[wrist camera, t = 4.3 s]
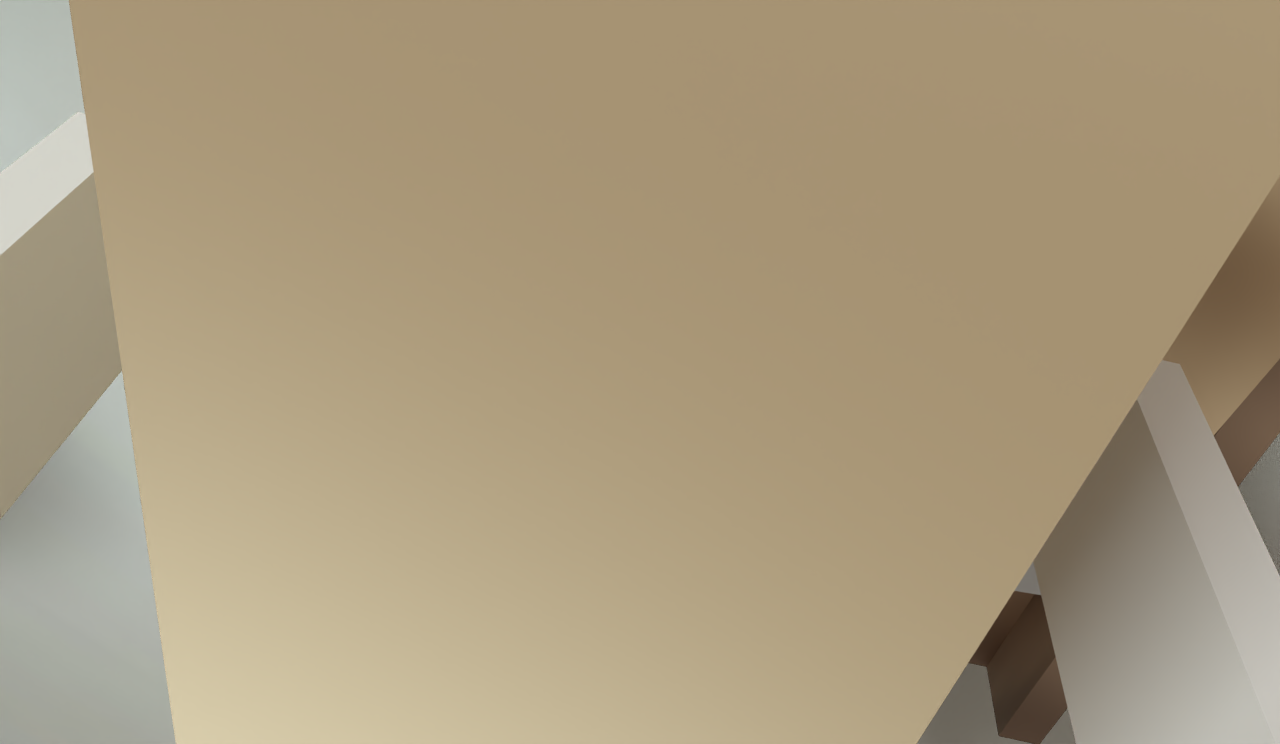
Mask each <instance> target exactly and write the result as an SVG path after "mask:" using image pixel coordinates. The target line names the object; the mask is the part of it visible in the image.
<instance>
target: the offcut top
mask: <svg viewBox="0 0 1280 744" xmlns="http://www.w3.org/2000/svg"><path fill="white" fill-rule="evenodd" d="M1279 359H1280V177H1279V178H1278V180H1277V181H1276V183H1275V184H1274V186H1273V187H1272V189H1271V191H1270V192H1269V194H1268V195H1267V197H1266V198H1265V200H1264V202H1263V203H1262V205H1261V206H1260V208H1259V209H1258V211H1257V212H1256V214H1255V216H1254V217H1253V219H1252V220H1251V222H1250V223H1249V225H1248V227H1247V228H1246V230H1245V231H1244V233H1243V234H1242V236H1241V237H1240V239H1239V241H1238V242H1237V244H1236V245H1235V247H1234V248H1233V250H1232V251H1231V253H1230V255H1229V256H1228V258H1227V259H1226V261H1225V262H1224V264H1223V266H1222V267H1221V269H1220V270H1219V272H1218V273H1217V275H1216V277H1215V278H1214V280H1213V281H1212V283H1211V284H1210V286H1209V287H1208V289H1207V291H1206V292H1205V294H1204V295H1203V297H1202V298H1201V300H1200V302H1199V303H1198V305H1197V306H1196V308H1195V309H1194V311H1193V312H1192V314H1191V316H1190V317H1189V319H1188V320H1187V322H1186V323H1185V325H1184V327H1183V328H1182V330H1181V331H1180V333H1179V334H1178V336H1177V337H1176V339H1175V341H1174V342H1173V344H1172V345H1171V347H1170V348H1169V350H1168V351H1167V353H1166V355H1165V356H1164V358H1163V359H1162V360H1164V361H1169V362H1173V363H1177V364H1180V365H1181V367H1182V370H1183V372H1184V374H1185V376H1186V378H1187V380H1188V382H1189V384H1190V387H1191V389H1192V391H1193V393H1194V395H1195V397H1196V399H1197V401H1198V404H1199V406H1200V408H1201V410H1202V412H1203V414H1204V416H1205V418H1206V421H1207V423H1208V425H1209V427H1210V429H1211V431H1212V433H1213V435H1215V434H1216V432H1217V431H1218V430H1219V429H1220V428H1221V427H1222V425H1223V424H1224V423H1225V422H1226V421H1227V420H1228V418H1229V417H1230V416H1231V415H1232V414H1233V413H1234V411H1235V410H1236V409H1237V408H1238V407H1239V406H1240V404H1241V403H1242V402H1243V401H1244V400H1245V399H1246V397H1247V396H1248V395H1249V394H1250V393H1251V392H1252V390H1253V389H1254V388H1255V387H1256V386H1257V385H1258V383H1259V382H1260V381H1261V380H1262V379H1263V378H1264V376H1265V375H1266V374H1267V373H1268V372H1269V371H1270V369H1271V368H1272V367H1273V366H1274V365H1275V364H1276V362H1277V361H1278V360H1279Z"/></svg>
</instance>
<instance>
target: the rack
mask: <svg viewBox="0 0 1280 744" xmlns="http://www.w3.org/2000/svg"><path fill="white" fill-rule="evenodd" d="M1279 433H1280V359H1279V360H1278V361H1277V362H1276V364H1275V365H1274V366H1273V367H1272V368H1271V369H1270V371H1269V372H1268V373H1267V374H1266V375H1265V376H1264V378H1263V379H1262V380H1261V381H1260V382H1259V383H1258V385H1257V386H1256V387H1255V388H1254V389H1253V390H1252V392H1251V393H1250V394H1249V395H1248V396H1247V397H1246V399H1245V400H1244V401H1243V402H1242V403H1241V404H1240V406H1239V407H1238V408H1237V409H1236V410H1235V411H1234V413H1233V414H1232V415H1231V416H1230V417H1229V418H1228V420H1227V421H1226V422H1225V423H1224V424H1223V425H1222V427H1221V428H1220V429H1219V430H1218V431H1217V432H1216V434H1215V435H1214V438H1215V440H1216V442H1217V444H1218V446H1219V448H1220V450H1221V452H1222V455H1223V457H1224V459H1225V461H1226V463H1227V465H1228V467H1229V469H1230V472H1231V474H1232V476H1233V478H1234V480H1235V482H1236V484H1237V486H1239V485H1240V483H1241V482H1242V481H1243V480H1244V478H1245V477H1246V476H1247V474H1248V473H1249V472H1250V470H1251V469H1252V468H1253V467H1254V465H1255V464H1256V463H1257V461H1258V460H1259V459H1260V457H1261V456H1262V455H1263V454H1264V452H1265V451H1266V450H1267V448H1268V447H1269V446H1270V444H1271V443H1272V442H1273V441H1274V439H1275V438H1276V437H1277V435H1278V434H1279ZM968 663H972V664H976V665H981V666H985V667H987V672H988V677H989V683H990V689H991V695H992V701H993V706H994V712H995V718H996V724H997V730H998V735H999V736H1001V737H1006V738H1010V739H1015V740H1019V741H1024V742H1029V743H1033V744H1040V743H1041V742H1042V740H1043V739H1044V738H1045V736H1046V735H1047V734H1048V733H1049V731H1050V730H1051V729H1052V727H1053V726H1054V725H1055V723H1056V722H1057V721H1058V720H1059V718H1060V717H1061V716H1062V714H1063V713H1064V712H1065V710H1066V709H1067V708H1068V707H1067V703H1066V699H1065V694H1064V690H1063V686H1062V682H1061V677H1060V673H1059V669H1058V665H1057V660H1056V656H1055V652H1054V648H1053V643H1052V639H1051V635H1050V631H1049V626H1048V622H1047V618H1046V614H1045V609H1044V605H1043V601H1042V597H1041V595H1037V594H1031V593H1025V592H1019V591H1014V592H1013V594H1012V595H1011V597H1010V598H1009V600H1008V601H1007V603H1006V605H1005V606H1004V608H1003V609H1002V611H1001V612H1000V614H999V616H998V617H997V619H996V620H995V622H994V623H993V625H992V626H991V628H990V630H989V631H988V633H987V634H986V636H985V637H984V639H983V641H982V642H981V644H980V645H979V647H978V648H977V650H976V651H975V653H974V655H973V656H972V658H971V659H970V661H969V662H968Z"/></svg>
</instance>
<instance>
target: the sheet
mask: <svg viewBox="0 0 1280 744" xmlns="http://www.w3.org/2000/svg"><path fill="white" fill-rule="evenodd" d="M69 5H70V12H71V19H72V26H73V33H74V40H75V47H76V53H77V60H78V67H79V74H80V81H81V88H82V95H83V102H84V109H85V116H86V123H87V130H88V137H89V144H90V151H91V158H92V165H93V172H94V178H95V185H96V192H97V199H98V206H99V213H100V220H101V227H102V234H103V241H104V248H105V255H106V262H107V269H108V276H109V283H110V290H111V297H112V303H113V310H114V317H115V324H116V331H117V338H118V345H119V352H120V359H121V366H122V373H123V380H124V387H125V394H126V401H127V408H128V415H129V422H130V428H131V435H132V442H133V449H134V456H135V463H136V470H137V477H138V484H139V491H140V498H141V505H142V512H143V519H144V526H145V533H146V540H147V547H148V554H149V560H150V567H151V574H152V581H153V588H154V595H155V602H156V609H157V616H158V623H159V630H160V637H161V644H162V651H163V658H164V665H165V672H166V679H167V685H168V692H169V699H170V706H171V713H172V720H173V727H174V734H175V741H176V744H917V742H918V741H919V739H920V737H921V736H922V734H923V733H924V731H925V730H926V728H927V726H928V725H929V723H930V722H931V720H932V719H933V717H934V716H935V714H936V712H937V711H938V709H939V708H940V706H941V705H942V703H943V701H944V700H945V698H946V697H947V695H948V694H949V692H950V691H951V689H952V687H953V686H954V684H955V683H956V681H957V680H958V678H959V676H960V675H961V673H962V672H963V670H964V669H965V667H966V666H967V664H968V662H969V661H970V659H971V658H972V656H973V655H974V653H975V651H976V650H977V648H978V647H979V645H980V644H981V642H982V641H983V639H984V637H985V636H986V634H987V633H988V631H989V630H990V628H991V626H992V625H993V623H994V622H995V620H996V619H997V617H998V616H999V614H1000V612H1001V611H1002V609H1003V608H1004V606H1005V605H1006V603H1007V601H1008V600H1009V598H1010V597H1011V595H1012V594H1013V592H1014V591H1015V589H1016V587H1017V586H1018V584H1019V583H1020V581H1021V580H1022V578H1023V576H1024V575H1025V573H1026V572H1027V570H1028V569H1029V567H1030V566H1031V564H1032V562H1033V561H1034V559H1035V558H1036V556H1037V555H1038V553H1039V551H1040V550H1041V548H1042V547H1043V545H1044V544H1045V542H1046V541H1047V539H1048V537H1049V536H1050V534H1051V533H1052V531H1053V530H1054V528H1055V526H1056V525H1057V523H1058V522H1059V520H1060V519H1061V517H1062V516H1063V514H1064V512H1065V511H1066V509H1067V508H1068V506H1069V505H1070V503H1071V501H1072V500H1073V498H1074V497H1075V495H1076V494H1077V492H1078V491H1079V489H1080V487H1081V486H1082V484H1083V483H1084V481H1085V480H1086V478H1087V476H1088V475H1089V473H1090V472H1091V470H1092V469H1093V467H1094V466H1095V464H1096V462H1097V461H1098V459H1099V458H1100V456H1101V455H1102V453H1103V451H1104V450H1105V448H1106V447H1107V445H1108V444H1109V442H1110V441H1111V439H1112V437H1113V436H1114V434H1115V433H1116V431H1117V430H1118V428H1119V426H1120V425H1121V423H1122V422H1123V420H1124V419H1125V417H1126V416H1127V414H1128V412H1129V411H1130V409H1131V408H1132V406H1133V405H1134V403H1135V401H1136V400H1137V398H1138V397H1139V395H1140V394H1141V392H1142V391H1143V389H1144V387H1145V386H1146V384H1147V383H1148V381H1149V380H1150V378H1151V376H1152V375H1153V373H1154V372H1155V370H1156V369H1157V367H1158V366H1159V364H1160V362H1161V361H1162V359H1163V358H1164V356H1165V355H1166V353H1167V351H1168V350H1169V348H1170V347H1171V345H1172V344H1173V342H1174V341H1175V339H1176V337H1177V336H1178V334H1179V333H1180V331H1181V330H1182V328H1183V327H1184V325H1185V323H1186V322H1187V320H1188V319H1189V317H1190V316H1191V314H1192V312H1193V311H1194V309H1195V308H1196V306H1197V305H1198V303H1199V302H1200V300H1201V298H1202V297H1203V295H1204V294H1205V292H1206V291H1207V289H1208V287H1209V286H1210V284H1211V283H1212V281H1213V280H1214V278H1215V277H1216V275H1217V273H1218V272H1219V270H1220V269H1221V267H1222V266H1223V264H1224V262H1225V261H1226V259H1227V258H1228V256H1229V255H1230V253H1231V251H1232V250H1233V248H1234V247H1235V245H1236V244H1237V242H1238V241H1239V239H1240V237H1241V236H1242V234H1243V233H1244V231H1245V230H1246V228H1247V227H1248V225H1249V223H1250V222H1251V220H1252V219H1253V217H1254V216H1255V214H1256V212H1257V211H1258V209H1259V208H1260V206H1261V205H1262V203H1263V202H1264V200H1265V198H1266V197H1267V195H1268V194H1269V192H1270V191H1271V189H1272V187H1273V186H1274V184H1275V183H1276V181H1277V180H1278V178H1279V177H1280V0H69Z"/></svg>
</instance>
